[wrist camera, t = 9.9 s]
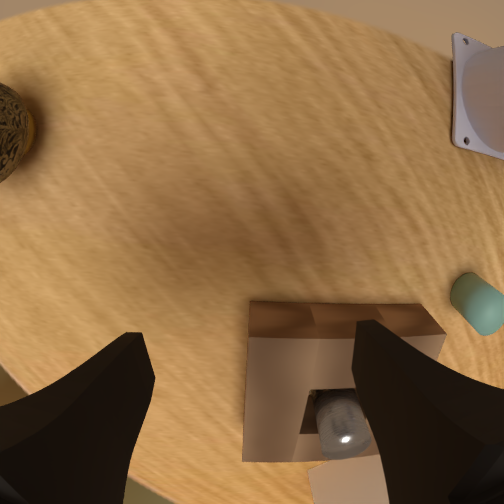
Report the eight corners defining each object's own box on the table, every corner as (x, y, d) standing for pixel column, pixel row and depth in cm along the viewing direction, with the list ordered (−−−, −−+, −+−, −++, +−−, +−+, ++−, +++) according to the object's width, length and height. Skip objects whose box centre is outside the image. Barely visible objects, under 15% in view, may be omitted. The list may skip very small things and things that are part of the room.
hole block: (421, 303, 20) (446, 334, 16) (378, 419, 24) (390, 452, 20) (249, 301, 20) (248, 337, 16) (243, 424, 24) (242, 461, 20)
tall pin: (337, 351, 21) (362, 424, 15) (352, 376, 22) (377, 446, 16) (300, 370, 22) (313, 445, 15) (317, 393, 23) (333, 465, 16)
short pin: (462, 267, 19) (489, 287, 15) (487, 280, 19) (515, 301, 15) (443, 303, 20) (467, 329, 16) (469, 314, 20) (493, 339, 16)
